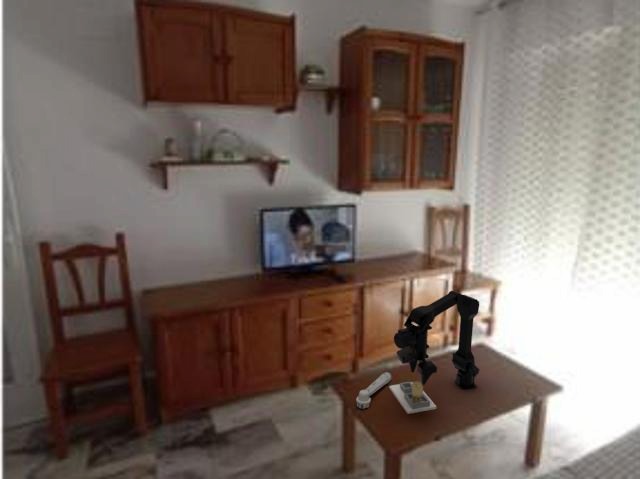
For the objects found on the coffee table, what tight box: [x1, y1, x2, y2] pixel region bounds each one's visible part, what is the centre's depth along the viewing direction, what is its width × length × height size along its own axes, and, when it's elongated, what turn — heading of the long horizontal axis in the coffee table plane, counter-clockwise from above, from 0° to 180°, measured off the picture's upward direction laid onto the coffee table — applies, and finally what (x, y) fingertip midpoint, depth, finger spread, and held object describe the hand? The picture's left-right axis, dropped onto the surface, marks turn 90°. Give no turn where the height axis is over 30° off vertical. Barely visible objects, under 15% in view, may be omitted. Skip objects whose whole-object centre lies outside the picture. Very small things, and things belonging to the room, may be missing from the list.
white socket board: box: [388, 381, 437, 415], centre depth 178 cm, size 12×18×3 cm, turn 14°
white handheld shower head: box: [355, 371, 393, 410], centre depth 181 cm, size 5×7×25 cm
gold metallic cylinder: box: [412, 380, 424, 403], centre depth 172 cm, size 4×4×8 cm
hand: (417, 378), depth 171 cm, fingers open, 9 cm apart
